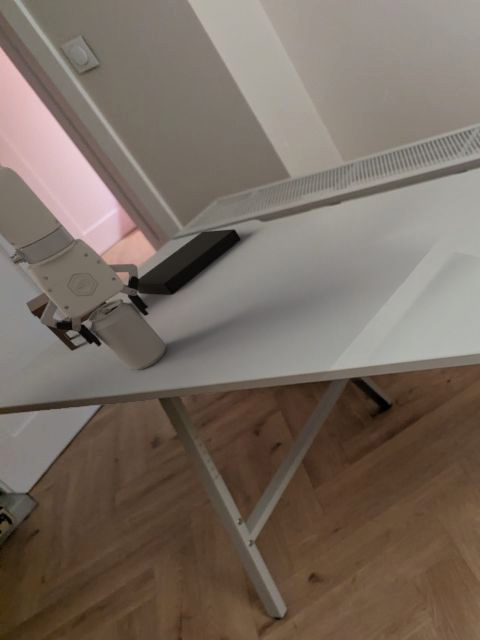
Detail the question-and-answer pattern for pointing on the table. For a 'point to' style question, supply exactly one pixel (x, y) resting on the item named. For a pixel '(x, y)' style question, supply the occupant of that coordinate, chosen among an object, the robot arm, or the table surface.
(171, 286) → the external hard drive
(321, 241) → the table surface
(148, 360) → the can
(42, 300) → the stand
